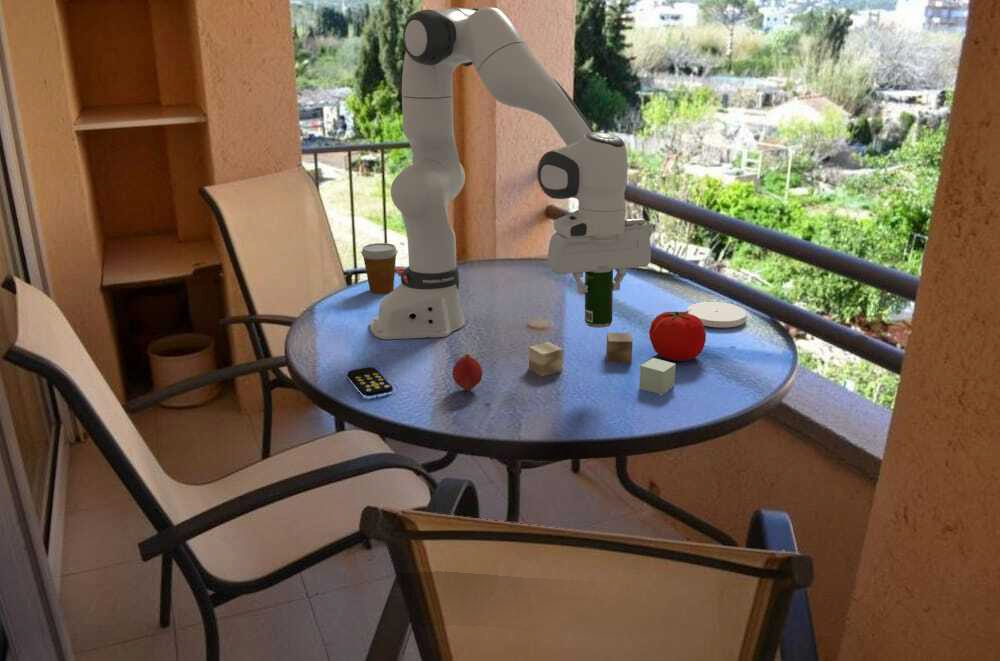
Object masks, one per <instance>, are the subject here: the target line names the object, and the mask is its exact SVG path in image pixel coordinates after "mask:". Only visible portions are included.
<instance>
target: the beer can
mask: <svg viewBox="0 0 1000 661" xmlns="http://www.w3.org/2000/svg"><path fill="white" fill-rule="evenodd" d="M598 268H599V269H597V270H596V271H592V272H584V283H585V284H587V285H588V289H587V290H588V293H586V294H584V323H585V325H586V326H588V327H589V328H590V327H591V328H595V329H599V328H600V329H601V328H607V327H610V326H611V325H612V322H613V302H614V301H613V296H614V291H613V280H614V269H613V270H611V269H609V266H605V267H598Z"/></svg>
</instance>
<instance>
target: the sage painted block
mask: <svg viewBox="0 0 1000 661" xmlns="http://www.w3.org/2000/svg"><path fill="white" fill-rule="evenodd" d="M676 366H677V364H676V363H674V362H670V361H667V360H662V359H658V358H655V357H652V358H650V359H648V360H647V361H646V362H644V363H643V364H640V368H639V371H640V373H639V386H638V388H640V390H642V389H644V390H643V391H646V390H648V391H647V392H649V391H651V392H650V393H653V392H655V393H654V394H656V393H659V394H658V395H660V394H663V393H664V394H666V393H667V392H668V391H667V390H669V389H670V388H671V387H673V386H674V387H675V380H676ZM674 387H673V388H674ZM671 389H672V388H671ZM671 389H670V390H671ZM670 390H669V391H670ZM666 391H667V392H666ZM665 392H666V393H665ZM664 394H663V395H664Z"/></svg>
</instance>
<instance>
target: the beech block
mask: <svg viewBox="0 0 1000 661" xmlns="http://www.w3.org/2000/svg"><path fill="white" fill-rule="evenodd" d="M563 352H564V348H561V347H559V346H557V345H556V344H554V343H551V342H550V341H546V342H542V343H540V344H539V343H538V344H534V345H531V346H529V347H528V369H529V370H530V369H531V371H532V370H533V371H532V372H534V371H535V372H534V373H536V374H537V373H538V374H537V375H539V374H540V375H539V376H540V377H542V376H543V377H546V376H545V375H547V376H550V375H549V374H551V375H554V374H558V373H562V372H563V361H564V360H563V359H564V358H563V357H564V354H563ZM557 372H558V373H557ZM553 373H554V374H553Z"/></svg>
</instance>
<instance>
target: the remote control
mask: <svg viewBox="0 0 1000 661" xmlns="http://www.w3.org/2000/svg"><path fill="white" fill-rule="evenodd" d="M346 377H348V378H349V379H350V380H351V381H352V383H353V384H354V385H355V386H356V387H357V388H358V390H359V391H360V392H361V393H362V394H363V395H366V396H373V395H379V394H384V393H389V392H392V391H393V392H394V387H393V386H392V384H391V383H390V382H389V381H388V380H386V378H385V377H384V376H383V375H382V374H381V372H379V371H378V370H377V368H376V367H373V366H366V367H362V368H357V369H351V370H349V371H347V374H346Z"/></svg>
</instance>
